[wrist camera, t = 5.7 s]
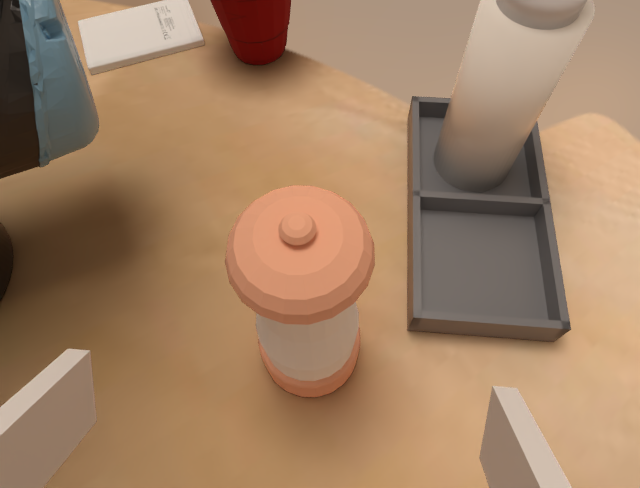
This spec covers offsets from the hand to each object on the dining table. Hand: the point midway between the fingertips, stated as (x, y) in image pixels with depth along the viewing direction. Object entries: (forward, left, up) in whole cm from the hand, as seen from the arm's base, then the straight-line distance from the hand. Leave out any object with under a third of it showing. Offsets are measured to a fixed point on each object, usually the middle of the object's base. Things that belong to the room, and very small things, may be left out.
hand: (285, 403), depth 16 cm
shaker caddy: (+12, +21, -20) cm, 32 cm away
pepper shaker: (-1, +8, -21) cm, 22 cm away
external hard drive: (-23, +42, -21) cm, 52 cm away
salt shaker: (+12, +26, -19) cm, 35 cm away
